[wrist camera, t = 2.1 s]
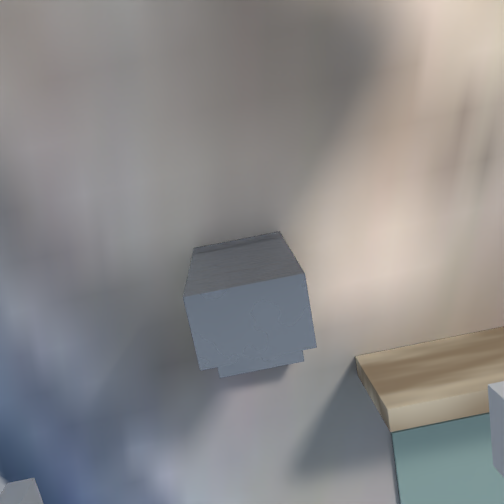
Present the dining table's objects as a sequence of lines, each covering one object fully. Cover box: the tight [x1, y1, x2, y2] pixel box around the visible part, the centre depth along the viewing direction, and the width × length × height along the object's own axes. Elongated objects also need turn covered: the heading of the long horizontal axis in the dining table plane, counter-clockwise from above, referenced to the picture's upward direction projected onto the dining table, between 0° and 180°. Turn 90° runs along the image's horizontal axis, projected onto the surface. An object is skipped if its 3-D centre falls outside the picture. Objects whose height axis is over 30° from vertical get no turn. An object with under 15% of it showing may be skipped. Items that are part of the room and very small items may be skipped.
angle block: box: [183, 231, 317, 378], centre depth 29 cm, size 9×6×10 cm, turn 10°
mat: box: [391, 412, 504, 504], centre depth 38 cm, size 10×13×1 cm
